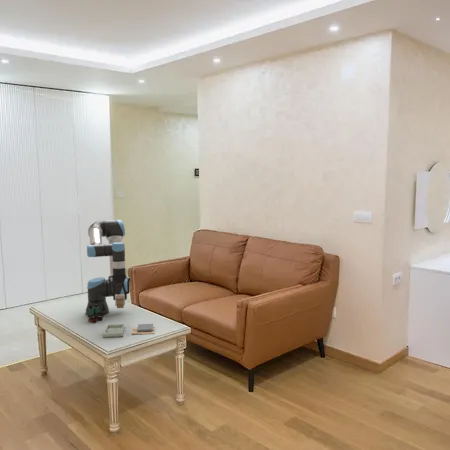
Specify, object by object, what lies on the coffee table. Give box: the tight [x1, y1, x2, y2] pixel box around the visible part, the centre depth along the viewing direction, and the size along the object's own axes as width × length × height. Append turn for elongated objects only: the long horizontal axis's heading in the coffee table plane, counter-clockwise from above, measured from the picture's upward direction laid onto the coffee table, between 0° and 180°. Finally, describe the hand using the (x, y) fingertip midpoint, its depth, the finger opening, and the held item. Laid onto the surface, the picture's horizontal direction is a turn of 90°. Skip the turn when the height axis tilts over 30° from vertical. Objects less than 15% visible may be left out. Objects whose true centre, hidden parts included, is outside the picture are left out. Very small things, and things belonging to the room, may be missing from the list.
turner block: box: [116, 294, 125, 309], centre depth 270 cm, size 10×4×6 cm, turn 12°
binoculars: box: [87, 303, 105, 323], centre depth 281 cm, size 9×11×10 cm
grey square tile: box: [136, 323, 154, 332], centre depth 265 cm, size 1×9×10 cm
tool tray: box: [102, 323, 126, 339], centre depth 261 cm, size 16×11×2 cm
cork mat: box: [131, 326, 156, 336], centre depth 263 cm, size 11×13×1 cm
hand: (120, 304), depth 271 cm, fingers closed on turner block, 4 cm apart
